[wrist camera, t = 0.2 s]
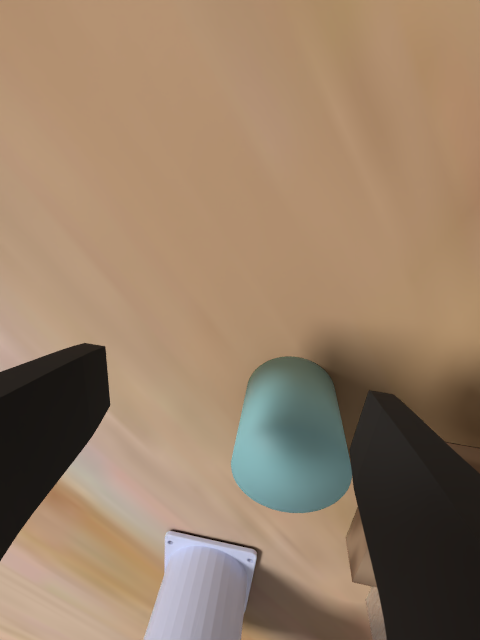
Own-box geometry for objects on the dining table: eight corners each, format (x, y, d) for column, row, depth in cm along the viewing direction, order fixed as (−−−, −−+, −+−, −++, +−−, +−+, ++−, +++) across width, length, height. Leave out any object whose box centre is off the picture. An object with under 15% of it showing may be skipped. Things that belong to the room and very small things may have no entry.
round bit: (324, 435, 21) (336, 522, 16) (242, 420, 22) (226, 499, 16) (344, 364, 19) (366, 438, 14) (252, 349, 19) (237, 414, 14)
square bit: (412, 610, 27) (442, 716, 22) (365, 599, 28) (383, 701, 22) (428, 584, 26) (466, 692, 20) (378, 572, 26) (401, 676, 21)
